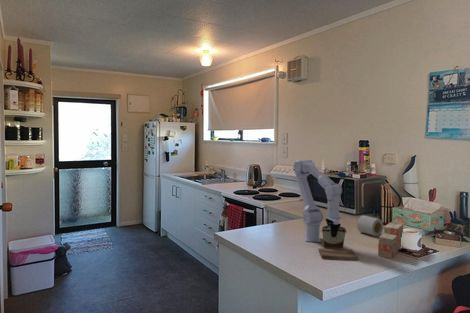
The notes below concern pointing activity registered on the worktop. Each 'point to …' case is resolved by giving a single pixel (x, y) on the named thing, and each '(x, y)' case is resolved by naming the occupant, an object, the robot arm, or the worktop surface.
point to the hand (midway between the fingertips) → (332, 234)
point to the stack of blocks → (390, 240)
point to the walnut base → (337, 254)
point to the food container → (333, 241)
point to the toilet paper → (370, 225)
